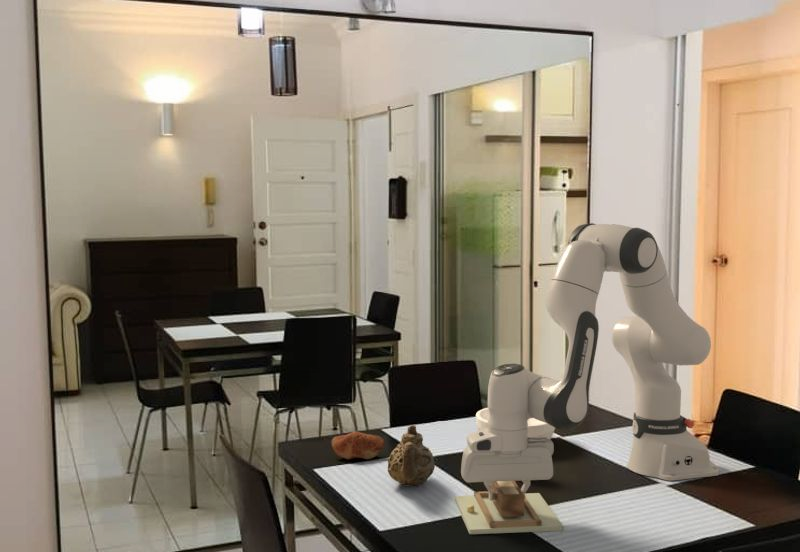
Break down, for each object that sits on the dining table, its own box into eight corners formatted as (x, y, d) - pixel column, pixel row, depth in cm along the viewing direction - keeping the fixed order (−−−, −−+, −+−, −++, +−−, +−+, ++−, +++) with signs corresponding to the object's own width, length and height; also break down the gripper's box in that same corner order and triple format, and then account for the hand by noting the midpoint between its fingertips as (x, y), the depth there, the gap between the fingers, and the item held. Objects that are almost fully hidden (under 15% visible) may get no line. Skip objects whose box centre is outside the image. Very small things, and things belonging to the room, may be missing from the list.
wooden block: (511, 496, 202) (512, 476, 202) (524, 516, 190) (524, 495, 190) (490, 497, 202) (490, 477, 201) (501, 517, 190) (501, 495, 189)
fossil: (324, 447, 234) (343, 414, 236) (333, 452, 242) (352, 420, 244) (363, 470, 230) (382, 436, 232) (371, 475, 237) (390, 442, 239)
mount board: (539, 497, 207) (539, 488, 207) (562, 530, 187) (563, 520, 187) (454, 500, 205) (454, 490, 205) (469, 534, 185) (469, 524, 185)
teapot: (389, 470, 226) (389, 413, 224) (434, 471, 225) (434, 413, 224) (385, 500, 205) (384, 437, 203) (435, 501, 204) (435, 438, 203)
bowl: (568, 440, 252) (568, 412, 251) (536, 461, 233) (536, 430, 232) (497, 428, 264) (497, 401, 263) (461, 447, 245) (461, 418, 244)
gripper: (549, 432, 198) (549, 492, 200) (459, 435, 196) (459, 495, 198) (557, 441, 192) (556, 502, 194) (464, 444, 190) (464, 506, 192)
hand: (506, 499), depth 196 cm, fingers closed on wooden block, 5 cm apart
